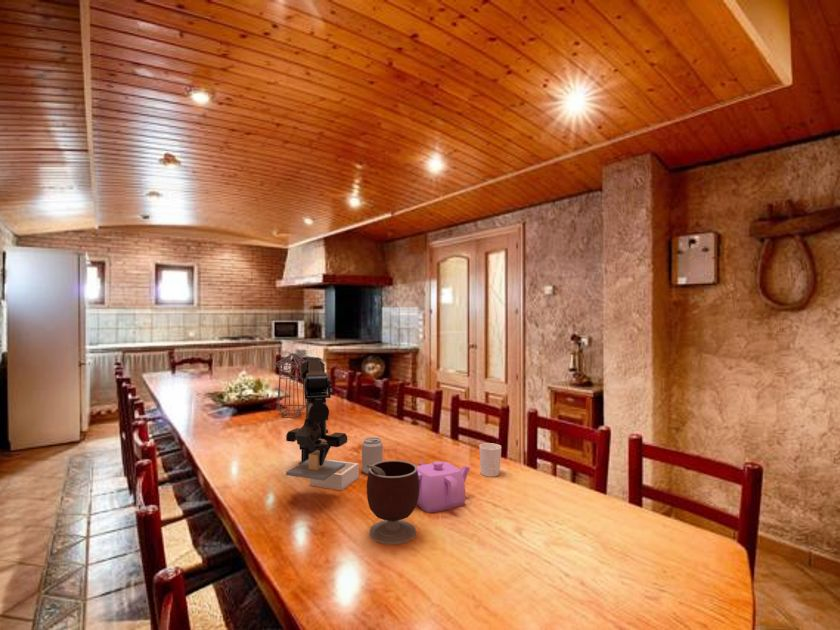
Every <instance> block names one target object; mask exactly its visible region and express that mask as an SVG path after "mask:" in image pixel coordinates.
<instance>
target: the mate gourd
mask: <svg viewBox="0 0 840 630" xmlns="http://www.w3.org/2000/svg"><path fill="white" fill-rule="evenodd" d="M417 466H418V465H416V464H414V463H413V462H409V461H406V460H398V459H397V460H396V459H394V460H392V459H391V460H383V461H382V462H378V463H375V464H373V465H367V468H369V473H368V474H367V479H366V497H367V498H366V499H367V503H368V508H369V509H370V510H371V512H372V513H373V514H374V516H375V517H377V519H380V520H381V521H379V522H376V523H374V524H373V525H371V527H370V529H369V537H370V538H371V539H372V540H373V541H374V542H376V543H379V544H382V545H390V546H391V545H392V546H393V545H401V544H405V543H408V542H410V541H412V540H413V539H414V538H415V536H416V533H417V531H416V530H417V529H416V527H415V525H414V524H412V523H411V522H409V521H407V520H406V519H407V518H408V517H410V516H411V515H412V513H413V511H415V509H416V508H417V506H418V505H417V502H418V496H419V477H418V472H417Z"/></svg>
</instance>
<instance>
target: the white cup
mask: <svg viewBox="0 0 840 630" xmlns="http://www.w3.org/2000/svg"><path fill="white" fill-rule="evenodd" d="M478 449H479V465H480V474H481V475H482V476H484V477H491V478H494V477H495V478H496V477H498V476H500V472H501V470H500V469H501V460H502V457H501V456H502V445H500V444H497V443H492V442H491V443H490V442H484V443H481V444H479V447H478Z"/></svg>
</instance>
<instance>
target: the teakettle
mask: <svg viewBox="0 0 840 630" xmlns="http://www.w3.org/2000/svg"><path fill="white" fill-rule="evenodd" d="M416 466H417V472H418V477H419V496H418V502H417V506H418V507H419V508H420V509H422V510H423V511H425V512H426V513H437V512H442V511H447V510H451V509H454V508H459V507H461V506H463V505H464V504H465V501H466V486H465V483H466V480H467V477H468V475H469V472H470V470H471V468H470V467H469V466H467V465H466V466H465V465H463V466H462V467H461V469H460V468H458V467H457V466H455V465H453V464H451V463H449V462H447V461H442V460H441V461H440V460H437V461H436V460H435V461H433V462H432V463H427V464H426V462H418V465H416Z"/></svg>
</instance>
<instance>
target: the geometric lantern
mask: <svg viewBox="0 0 840 630" xmlns="http://www.w3.org/2000/svg"><path fill="white" fill-rule="evenodd" d="M291 358H292V359H293V361H291ZM304 362H306V359H304V358H302V357H301V356H299V355H297V354H295V353H290V354H289V355H287V356H285V357H283V358H282V359H280V360H278V361H277V362H274V365H275V366H276V368H278V369H279V378H278V379H279V380H278V391H277V398H276V399H277V400H276V410H277V411H279V412H280V413H281V414H282V416H281V417H282V418H285V417H286V418H289V419H291V418H292V419H296V418H297V419H298V417H300V416H301V415H302V411H303V410H305V409H306V399H305V394H304V385H303V384H302V403H303V404H300V402H299V383H298V382H299V381H298V380H299V379H301V377H299V374H300V373H301V364H303V363H304ZM286 363H287V364H286ZM285 366H286V367H287V369H284V367H285ZM289 367H290V368H289ZM292 369H293V370H292ZM296 369H299V372H298V373H297V375H296V376H294V375H293V373H294V371H295V370H296ZM290 370H292V371H290ZM286 372H289V374H290V375H288V374H287V373H286ZM283 373H284V374H285V376H282V374H283ZM288 377H289V378H288ZM291 377H292V378H291ZM282 379H283V380H285V381H286V382H285V391H284V392H285V393H284V405H282V406H280V405H281V404H280V403H281V400H280V399H281V381H282ZM288 380H289V391H288V392H289V393H288V404H286V401H287V388H288ZM295 380H296V394H297V395H296V396H297V404H295ZM291 381H293V384H292V385H293V388H292V389H293V391H292V392H293V395H292V397H293V398H292V401H293V403H292V404H291ZM292 406H293V409H289V408H290V407H292ZM283 407H284V408H285V409H284V408H283ZM287 407H288V408H287ZM295 407H297V409H295ZM286 415H294V417H293V416H286Z"/></svg>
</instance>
